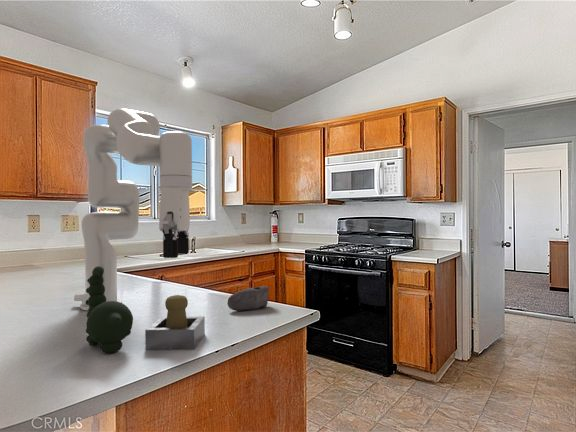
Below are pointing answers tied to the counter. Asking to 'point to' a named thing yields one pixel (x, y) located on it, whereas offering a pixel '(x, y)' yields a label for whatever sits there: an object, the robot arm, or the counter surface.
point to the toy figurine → (105, 316)
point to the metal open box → (174, 335)
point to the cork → (176, 311)
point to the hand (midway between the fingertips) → (176, 255)
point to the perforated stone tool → (249, 299)
